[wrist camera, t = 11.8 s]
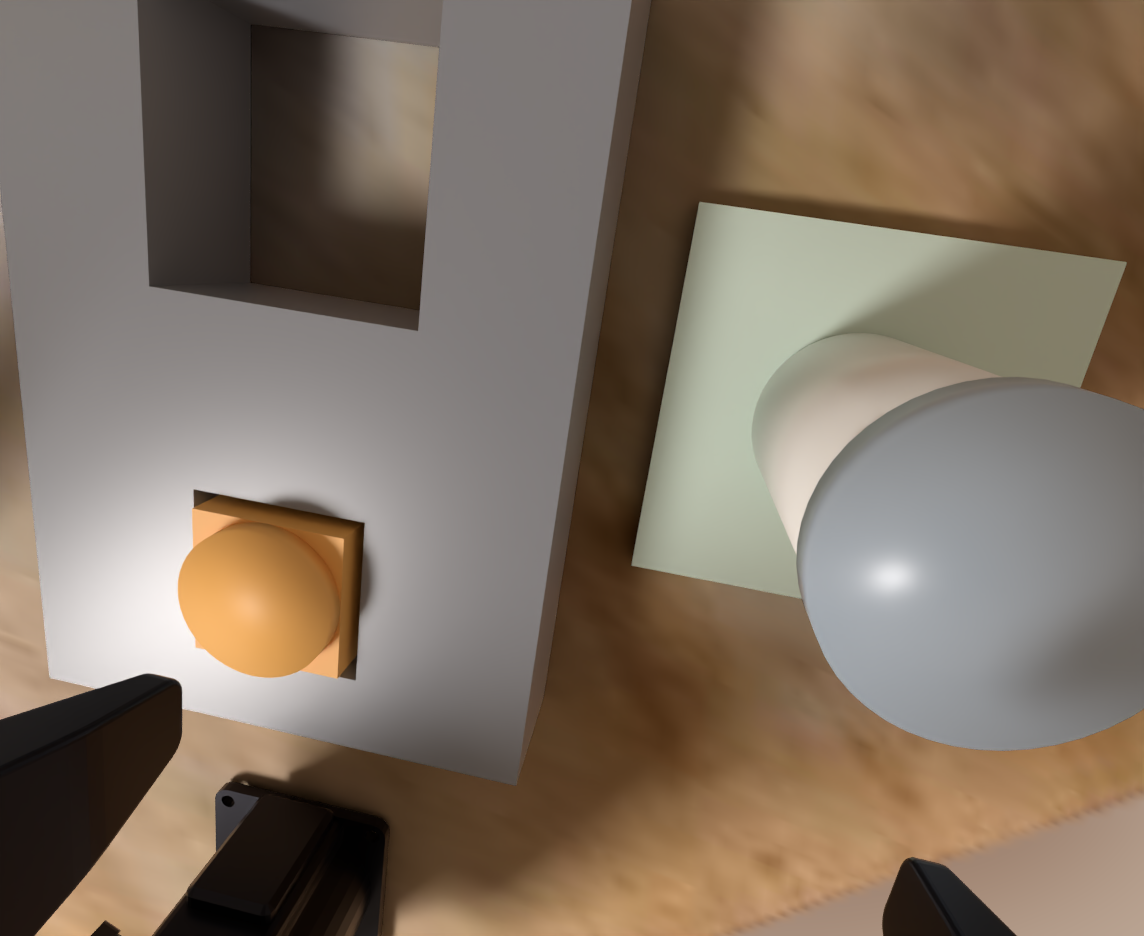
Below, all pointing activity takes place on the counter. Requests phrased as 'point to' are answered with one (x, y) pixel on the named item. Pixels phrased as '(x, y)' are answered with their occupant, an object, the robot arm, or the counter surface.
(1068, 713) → the cylinder
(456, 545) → the housing
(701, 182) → the counter surface
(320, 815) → the robot arm
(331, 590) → the orange block with disc
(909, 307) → the mat
